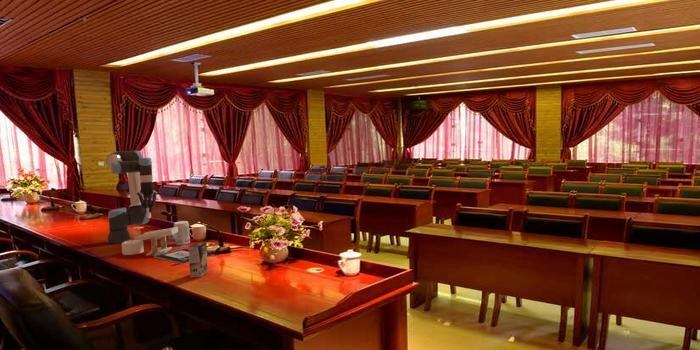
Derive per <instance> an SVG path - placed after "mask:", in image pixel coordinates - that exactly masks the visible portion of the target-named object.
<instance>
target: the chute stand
mask: <svg viewBox="0 0 700 350" xmlns="http://www.w3.org/2000/svg"><path fill="white" fill-rule="evenodd" d="M150 244H151V246H150V247H151V250H150V251H149V252H147V253H146V254H145V255H146V256H147V257H149V256H154V255H157V254H158V255H159V254H161V253H163V254H164V253H165V252H170V251H171V250H172V249H173V247H172V246H168V244H167V236H163V237H162V238H160V247H158V240H157V237H156V238H151V239H150Z"/></svg>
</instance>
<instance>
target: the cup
mask: <svg viewBox="0 0 700 350" xmlns="http://www.w3.org/2000/svg"><path fill="white" fill-rule="evenodd" d="M121 251H122V252H121V253H122V255H123V256H133V255H138V254H141V253H144V251H145V250H144V240H140V241H138V239H131V240H129V241H125V242H122V243H121Z"/></svg>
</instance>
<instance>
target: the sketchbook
mask: <svg viewBox="0 0 700 350" xmlns="http://www.w3.org/2000/svg"><path fill="white" fill-rule="evenodd" d="M213 256H215V254H214V253H209V252H207V258H209V257H213ZM153 258H154V259H157V258H158V259H159V260H164V261H166V262H172V263H176V264H177V263H178V264H181V265H185V264H187V263H188V264H190V263H189V248H184V247H183V248H177V249H174V250H169V251H167V252H165V253H164V254H163V253H161V254H159V255H158V254H157V255H153Z"/></svg>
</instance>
